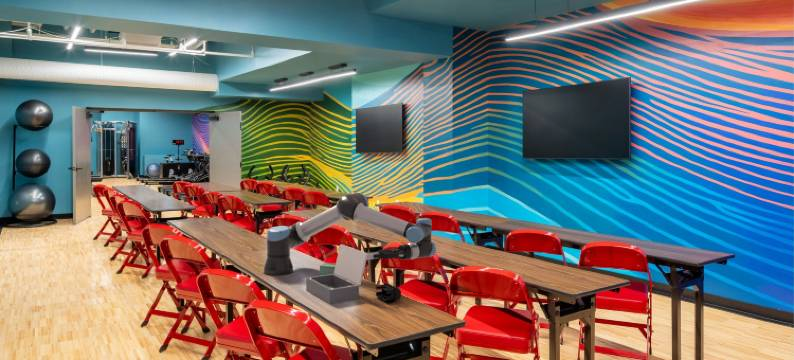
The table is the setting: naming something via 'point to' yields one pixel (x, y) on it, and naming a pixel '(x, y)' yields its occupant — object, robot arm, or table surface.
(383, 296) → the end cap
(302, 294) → the table surface
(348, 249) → the cover
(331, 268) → the box
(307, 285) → the grey tray
